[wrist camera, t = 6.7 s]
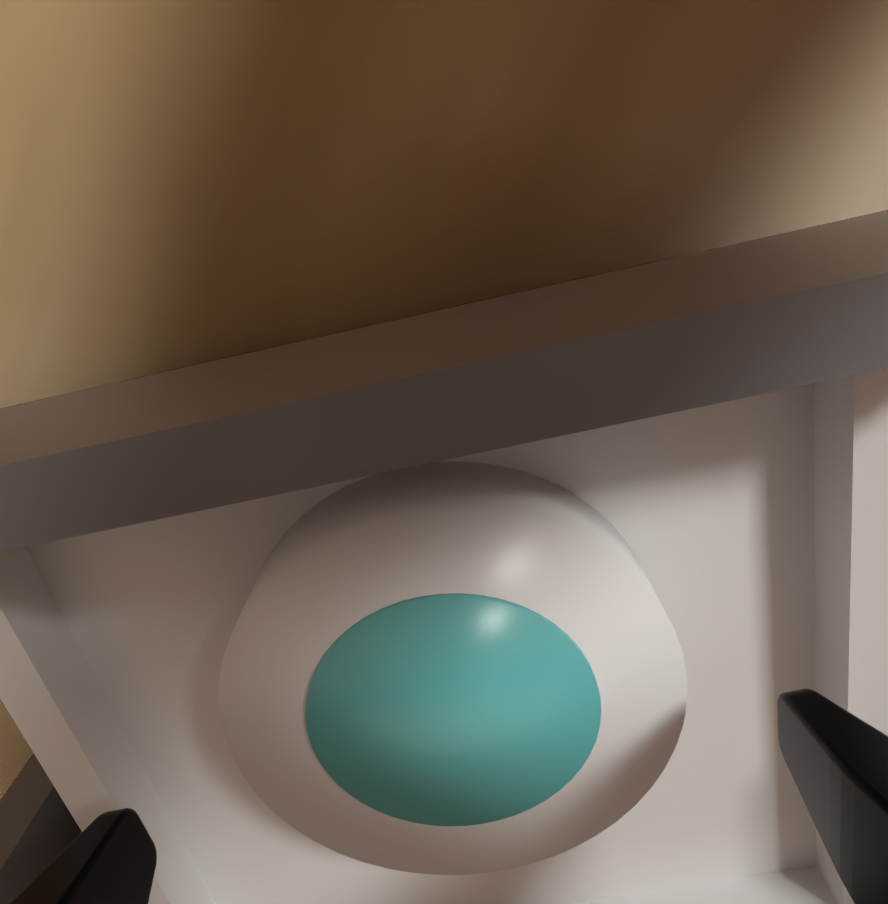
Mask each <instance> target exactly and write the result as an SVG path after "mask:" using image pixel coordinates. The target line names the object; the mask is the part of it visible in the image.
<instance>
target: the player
mask: <svg viewBox="0 0 888 904" xmlns="http://www.w3.org/2000/svg"><path fill="white" fill-rule="evenodd" d="M81 833H82V831H81V829H80V828H79V826H78V825H77V823H76V821H75V820H74V818H73V816H72V815H71V813H70V812H69V810H68V808H67V807H66V805H65V803H64V802H63V800H62V799H61V797H60V795H59V794H58V792H57V790H56V789H55V787H54V786H53V784H52V782H51V781H50V779H49V777H48V776H47V774H46V772H45V771H44V769H43V768H42V766H41V764H40V763H39V761H38V759H37V758H36V756H35V755H34V753H33V755H32V756H31V758H30V759H29V761H28V762H27V763H26V765H25V766H24V768H23V769H22V771H21V772H20V773H19V775H18V776H17V778H16V779H15V780H14V782H13V783H12V785H11V786H10V788H9V789H8V790H7V792H6V793H5V795H4V796H3V798H2V799H1V800H0V904H9V903H10V902H11V901H12V900H13V899H14V898H15V897H16V896H17V895H18V894H19V893H20V892H21V891H22V890H23V889H25V888H26V887H27V886H28V885H29V884H30V883H31V882H32V881H33V880H34V879H35V878H36V877H37V876H38V875H39V874H40V873H41V872H42V871H43V870H44V869H45V868H46V867H47V866H48V865H49V864H50V863H51V862H52V861H53V860H54V859H55V858H56V857H57V856H58V855H59V854H60V853H61V852H62V851H63V850H64V849H65V848H66V847H67V846H68V845H69V844H70V843H71V842H72V841H73V840H74V839H75V838H77V837H78V836H79V835H80V834H81Z"/></svg>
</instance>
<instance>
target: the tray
mask: <svg viewBox="0 0 888 904" xmlns="http://www.w3.org/2000/svg"><path fill="white" fill-rule="evenodd" d="M433 462H473V463H483V464H493V465H498V466H502V467H507V468H511V469H515V470H520V471H523V472H526V473H529V474H532V475H534V476H537V477H540V478H543V479H545V480H548V481H550V482H552V483H554V484H556V485H558V486H560V487H562V488H564V489H566V490H568V491H570V492H571V493H573V494H575V495H576V496H578V497H579V498H581V499H582V500H583V501H585V502H586V503H588V504H589V505H591V506H592V507H593V508H595V509H596V510H597V511H598V512H599V513H600V514H601V515H602V516H604V517H605V518H606V519H607V520H608V521H609V522H610V523H611V524H612V525H613V526H614V527H615V528H616V529H617V531H618V532H619V533H620V534H621V536H622V537H623V538H624V540H625V541H626V542H627V543H628V545H629V546H630V548H631V549H632V551H633V553H634V555H635V556H636V558H637V560H638V562H639V564H640V565H641V567H642V569H643V571H644V573H645V575H646V576H647V578H648V580H649V582H650V584H651V586H652V588H653V590H654V592H655V593H656V595H657V597H658V599H659V601H660V603H661V605H662V607H663V608H664V610H665V612H666V614H667V616H668V618H669V620H670V622H671V624H672V625H673V627H674V630H675V632H676V635H677V638H678V641H679V643H680V646H681V649H682V652H683V657H684V662H685V668H686V674H687V705H686V711H685V718H684V724H683V727H682V730H681V733H680V736H679V739H678V742H677V745H676V748H675V750H674V752H673V754H672V756H671V758H670V760H669V762H668V764H667V765H666V767H665V769H664V771H663V772H662V773H661V775H660V776H659V778H658V779H657V781H656V782H655V783H654V785H653V786H652V788H651V789H650V790H649V791H648V792H647V793H646V794H645V795H644V796H643V798H642V799H641V800H640V801H639V802H638V803H637V804H636V805H635V806H634V807H633V808H632V809H631V810H630V811H628V812H627V813H626V814H625V815H624V816H623V817H621V818H620V819H619V820H618V821H617V822H616V823H614V824H613V825H611V826H610V827H608V828H607V829H605V830H604V831H602V832H601V833H599V834H598V835H596V836H595V837H593V838H591V839H589V840H587V841H586V842H584V843H582V844H580V845H578V846H576V847H574V848H572V849H570V850H568V851H565V852H563V853H560V854H558V855H555V856H553V857H551V858H548V859H545V860H542V861H538V862H535V863H532V864H528V865H525V866H522V867H517V868H512V869H507V870H502V871H497V872H489V873H480V874H471V875H432V874H418V873H410V872H404V871H398V870H392V869H387V868H383V867H379V866H376V865H372V864H368V863H364V862H361V861H358V860H356V859H353V858H350V857H347V856H345V855H342V854H339V853H337V852H335V851H333V850H331V849H329V848H327V847H325V846H323V845H321V844H319V843H316V842H315V841H313V840H311V839H310V838H308V837H307V836H305V835H303V834H302V833H300V832H299V831H297V830H296V829H294V828H293V827H291V826H290V825H289V824H288V823H286V822H285V821H284V820H283V819H281V818H280V817H279V816H278V815H276V814H275V813H274V812H273V811H272V810H271V809H270V808H269V807H268V806H267V805H266V804H265V803H264V802H263V801H262V800H261V799H260V798H259V797H258V796H257V794H256V793H255V792H254V790H253V789H252V788H251V786H250V785H249V784H248V782H247V781H246V780H245V778H244V777H243V775H242V774H241V772H240V770H239V768H238V766H237V764H236V763H235V761H234V759H233V757H232V755H231V753H230V750H229V747H228V744H227V741H226V739H225V736H224V733H223V728H222V723H221V718H220V712H219V686H218V685H219V678H220V672H221V665H222V660H223V657H224V654H225V651H226V648H227V645H228V642H229V639H230V636H231V634H232V631H233V629H234V627H235V625H236V623H237V621H238V618H239V616H240V614H241V612H242V610H243V607H244V605H245V603H246V601H247V599H248V597H249V594H250V592H251V590H252V588H253V586H254V584H255V581H256V579H257V577H258V575H259V573H260V571H261V569H262V567H263V565H264V563H265V562H266V560H267V558H268V556H269V554H270V552H271V551H272V550H273V548H274V547H275V546H276V544H277V543H278V542H279V540H280V539H281V538H282V536H283V535H284V534H285V532H286V531H287V530H288V529H289V528H290V527H291V526H292V525H293V524H294V523H295V522H296V521H297V520H298V519H299V518H300V517H301V516H302V515H303V514H305V513H306V512H307V511H309V510H310V509H311V508H313V507H314V506H315V505H317V504H318V503H319V502H321V501H322V500H323V499H325V498H326V497H328V496H330V495H332V494H334V493H335V492H337V491H339V490H341V489H342V488H344V487H346V486H348V485H350V484H352V483H355V482H357V481H359V480H362V479H364V478H367V477H369V476H372V475H375V474H380V473H384V472H389V471H394V470H399V469H404V468H409V467H413V466H418V465H423V464H428V463H433ZM800 689H811V690H814V691H816V692H818V693H819V694H821V695H823V696H824V697H826V698H827V699H829V700H831V701H832V702H834V703H836V704H837V705H839V706H840V707H842V708H844V709H845V710H847V711H848V712H850V713H852V714H853V715H855V716H856V717H858V718H860V719H861V720H863V721H864V722H866V723H868V724H869V725H871V726H872V727H874V728H876V729H877V730H879V731H880V732H882V733H884V734H885V735H887V736H888V210H886V211H881V212H877V213H872V214H868V215H863V216H859V217H854V218H850V219H845V220H841V221H836V222H832V223H827V224H823V225H818V226H814V227H810V228H805V229H801V230H796V231H792V232H787V233H783V234H778V235H774V236H769V237H765V238H760V239H756V240H751V241H747V242H742V243H738V244H734V245H729V246H725V247H720V248H716V249H711V250H707V251H702V252H698V253H693V254H689V255H684V256H680V257H675V258H671V259H666V260H662V261H658V262H653V263H649V264H644V265H640V266H635V267H631V268H626V269H622V270H617V271H613V272H608V273H604V274H599V275H595V276H590V277H586V278H582V279H577V280H573V281H568V282H564V283H559V284H555V285H550V286H546V287H541V288H537V289H532V290H528V291H523V292H519V293H514V294H510V295H506V296H501V297H497V298H492V299H488V300H483V301H479V302H474V303H470V304H465V305H461V306H456V307H452V308H447V309H443V310H438V311H434V312H430V313H425V314H421V315H416V316H412V317H407V318H403V319H398V320H394V321H389V322H385V323H380V324H376V325H371V326H367V327H362V328H358V329H354V330H349V331H345V332H340V333H336V334H331V335H327V336H322V337H318V338H313V339H309V340H304V341H300V342H295V343H291V344H286V345H282V346H278V347H273V348H269V349H264V350H260V351H255V352H251V353H246V354H242V355H237V356H233V357H228V358H224V359H219V360H215V361H210V362H206V363H202V364H197V365H193V366H188V367H184V368H179V369H175V370H170V371H166V372H161V373H157V374H152V375H148V376H143V377H139V378H134V379H130V380H126V381H121V382H117V383H112V384H108V385H103V386H99V387H94V388H90V389H85V390H81V391H76V392H72V393H67V394H63V395H58V396H54V397H50V398H45V399H41V400H36V401H32V402H27V403H23V404H18V405H14V406H9V407H5V408H0V699H1V701H2V702H3V704H4V706H5V707H6V709H7V711H8V712H9V714H10V715H11V717H12V719H13V720H14V722H15V724H16V725H17V727H18V729H19V730H20V732H21V733H22V735H23V737H24V738H25V740H26V742H27V743H28V745H29V746H30V748H31V750H32V751H33V753H34V755H35V756H36V758H37V759H38V761H39V763H40V764H41V766H42V768H43V769H44V771H45V772H46V774H47V776H48V777H49V779H50V781H51V782H52V784H53V786H54V787H55V789H56V790H57V792H58V794H59V795H60V797H61V799H62V800H63V802H64V803H65V805H66V807H67V808H68V810H69V812H70V813H71V815H72V816H73V818H74V820H75V821H76V823H77V825H78V826H79V828H80V829H81V831H82V832H83V831H84V830H85V829H86V828H87V827H88V826H89V825H90V824H91V823H92V822H93V821H94V820H95V819H96V818H97V817H98V816H99V815H101V814H102V813H105V812H107V811H113V810H118V809H124V808H131V809H133V810H135V811H136V812H137V814H138V815H139V817H140V819H141V821H142V822H143V824H144V826H145V828H146V829H147V831H148V833H149V835H150V837H151V838H152V840H153V842H154V844H155V847H156V851H157V863H156V869H155V874H154V878H153V883H152V888H151V892H150V897H149V902H148V904H855V903H854V902H853V900H852V898H851V897H850V895H849V893H848V891H847V889H846V888H845V886H844V884H843V882H842V880H841V879H840V877H839V875H838V873H837V871H836V869H835V867H834V865H833V863H832V860H831V858H830V856H829V854H828V852H827V850H826V848H825V846H824V844H823V841H822V839H821V837H820V835H819V833H818V831H817V829H816V826H815V824H814V822H813V820H812V818H811V816H810V814H809V811H808V809H807V807H806V805H805V803H804V801H803V799H802V796H801V794H800V792H799V790H798V788H797V786H796V783H795V781H794V779H793V777H792V775H791V773H790V771H789V768H788V766H787V764H786V762H785V760H784V758H783V755H782V752H781V749H780V746H779V741H778V721H777V698H778V696H779V694H781V693H783V692H788V691H794V690H800Z"/></svg>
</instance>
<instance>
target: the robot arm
mask: <svg viewBox="0 0 888 904" xmlns="http://www.w3.org/2000/svg"><path fill="white" fill-rule="evenodd" d="M777 721H778V741H779V746H780V749H781V752H782V755H783V758H784V760H785V762H786V764H787V766H788V768H789V771H790V773H791V775H792V777H793V779H794V781H795V783H796V786H797V788H798V790H799V792H800V794H801V796H802V799H803V801H804V803H805V805H806V807H807V809H808V811H809V814H810V816H811V818H812V820H813V822H814V824H815V826H816V829H817V831H818V833H819V835H820V837H821V839H822V841H823V844H824V846H825V848H826V850H827V852H828V854H829V856H830V858H831V860H832V863H833V865H834V867H835V869H836V871H837V873H838V875H839V877H840V879H841V880H842V882H843V884H844V886H845V888H846V889H847V891H848V893H849V895H850V897H851V898H852V900H853V902H854V903H855V904H888V736H887V735H885V734H884V733H882V732H880V731H879V730H877V729H876V728H874V727H872V726H871V725H869V724H868V723H866V722H864V721H863V720H861V719H860V718H858V717H856V716H855V715H853V714H852V713H850V712H848V711H847V710H845V709H844V708H842V707H840V706H839V705H837V704H836V703H834V702H832V701H831V700H829V699H827V698H826V697H824V696H823V695H821V694H819V693H818V692H816V691H814V690H811V689H800V690H794V691H788V692H783V693H781V694H779V696H778V698H777ZM156 863H157V851H156V847H155V844H154V842H153V840H152V838H151V837H150V835H149V833H148V831H147V829H146V828H145V826H144V824H143V822H142V821H141V819H140V817H139V815H138V814H137V812H136V811H135V810H133V809H131V808H124V809H118V810H113V811H107V812H105V813H102V814H101V815H99V816H98V817H97V818H96V819H95V820H94V821H93V822H92V823H91V824H90V825H89V826H88V827H87V828H86V829H85V830H84V831H83V832H82V833H81V834H80V835H79V836H78V837H77V838H75V839H74V840H73V841H72V842H71V843H70V844H69V845H68V846H67V847H66V848H65V849H64V850H63V851H62V852H61V853H60V854H59V855H58V856H57V857H56V858H55V859H54V860H53V861H52V862H51V863H50V864H49V865H48V866H47V867H46V868H45V869H44V870H43V871H42V872H41V873H40V874H39V875H38V876H37V877H36V878H35V879H34V880H33V881H32V882H31V883H30V884H29V885H28V886H27V887H26V888H25V889H23V890H22V891H21V892H20V893H19V894H18V895H17V896H16V897H15V898H14V899H13V900H12V901H11V902H10V903H9V904H148V902H149V897H150V892H151V888H152V883H153V878H154V874H155V869H156Z"/></svg>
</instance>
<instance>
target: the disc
mask: <svg viewBox="0 0 888 904" xmlns="http://www.w3.org/2000/svg"><path fill="white" fill-rule="evenodd" d="M218 686H219V712H220V718H221V723H222V728H223V733H224V736H225V739H226V741H227V744H228V747H229V750H230V753H231V755H232V757H233V759H234V761H235V763H236V764H237V766H238V768H239V770H240V772H241V774H242V775H243V777H244V778H245V780H246V781H247V782H248V784H249V785H250V786H251V788H252V789H253V790H254V792H255V793H256V794H257V796H258V797H259V798H260V799H261V800H262V801H263V802H264V803H265V804H266V805H267V806H268V807H269V808H270V809H271V810H272V811H273V812H274V813H275V814H276V815H278V816H279V817H280V818H281V819H283V820H284V821H285V822H286V823H288V824H289V825H290V826H291V827H293V828H294V829H296V830H297V831H299V832H300V833H302V834H303V835H305V836H307V837H308V838H310V839H311V840H313V841H315V842H316V843H319V844H321V845H323V846H325V847H327V848H329V849H331V850H333V851H335V852H337V853H339V854H342V855H345V856H347V857H350V858H353V859H356V860H358V861H361V862H364V863H368V864H372V865H376V866H379V867H383V868H387V869H392V870H398V871H404V872H410V873H418V874H432V875H471V874H480V873H489V872H497V871H502V870H507V869H512V868H517V867H522V866H525V865H528V864H532V863H535V862H538V861H542V860H545V859H548V858H551V857H553V856H555V855H558V854H560V853H563V852H565V851H568V850H570V849H572V848H574V847H576V846H578V845H580V844H582V843H584V842H586V841H587V840H589V839H591V838H593V837H595V836H596V835H598V834H599V833H601V832H602V831H604V830H605V829H607V828H608V827H610V826H611V825H613V824H614V823H616V822H617V821H618V820H619V819H620V818H621V817H623V816H624V815H625V814H626V813H627V812H628V811H630V810H631V809H632V808H633V807H634V806H635V805H636V804H637V803H638V802H639V801H640V800H641V799H642V798H643V796H644V795H645V794H646V793H647V792H648V791H649V790H650V789H651V788H652V786H653V785H654V783H655V782H656V781H657V779H658V778H659V776H660V775H661V773H662V772H663V771H664V769H665V767H666V765H667V764H668V762H669V760H670V758H671V756H672V754H673V752H674V750H675V748H676V745H677V742H678V739H679V736H680V733H681V730H682V727H683V724H684V718H685V711H686V705H687V674H686V668H685V662H684V657H683V652H682V649H681V646H680V643H679V641H678V638H677V635H676V632H675V630H674V627H673V625H672V624H671V622H670V620H669V618H668V616H667V614H666V612H665V610H664V608H663V607H662V605H661V603H660V601H659V599H658V597H657V595H656V593H655V592H654V590H653V588H652V586H651V584H650V582H649V580H648V578H647V576H646V575H645V573H644V571H643V569H642V567H641V565H640V564H639V562H638V560H637V558H636V556H635V555H634V553H633V551H632V549H631V548H630V546H629V545H628V543H627V542H626V541H625V540H624V538H623V537H622V536H621V534H620V533H619V532H618V531H617V529H616V528H615V527H614V526H613V525H612V524H611V523H610V522H609V521H608V520H607V519H606V518H605V517H604V516H602V515H601V514H600V513H599V512H598V511H597V510H596V509H595V508H593V507H592V506H591V505H589V504H588V503H586V502H585V501H583V500H582V499H581V498H579V497H578V496H576V495H575V494H573V493H571V492H570V491H568V490H566V489H564V488H562V487H560V486H558V485H556V484H554V483H552V482H550V481H548V480H545V479H543V478H540V477H537V476H534V475H532V474H529V473H526V472H523V471H520V470H515V469H511V468H507V467H502V466H498V465H493V464H483V463H473V462H433V463H428V464H423V465H418V466H413V467H409V468H404V469H399V470H394V471H389V472H384V473H380V474H375V475H372V476H369V477H367V478H364V479H362V480H359V481H357V482H355V483H352V484H350V485H348V486H346V487H344V488H342V489H341V490H339V491H337V492H335V493H334V494H332V495H330V496H328V497H326V498H325V499H323V500H322V501H321V502H319V503H318V504H317V505H315V506H314V507H313V508H311V509H310V510H309V511H307V512H306V513H305V514H303V515H302V516H301V517H300V518H299V519H298V520H297V521H296V522H295V523H294V524H293V525H292V526H291V527H290V528H289V529H288V530H287V531H286V532H285V534H284V535H283V536H282V538H281V539H280V540H279V542H278V543H277V544H276V546H275V547H274V548H273V550H272V551H271V552H270V554H269V556H268V558H267V560H266V562H265V563H264V565H263V567H262V569H261V571H260V573H259V575H258V577H257V579H256V581H255V584H254V586H253V588H252V590H251V592H250V594H249V597H248V599H247V601H246V603H245V605H244V607H243V610H242V612H241V614H240V616H239V618H238V621H237V623H236V625H235V627H234V629H233V631H232V634H231V636H230V639H229V642H228V645H227V648H226V651H225V654H224V657H223V660H222V665H221V672H220V678H219V685H218Z"/></svg>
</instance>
